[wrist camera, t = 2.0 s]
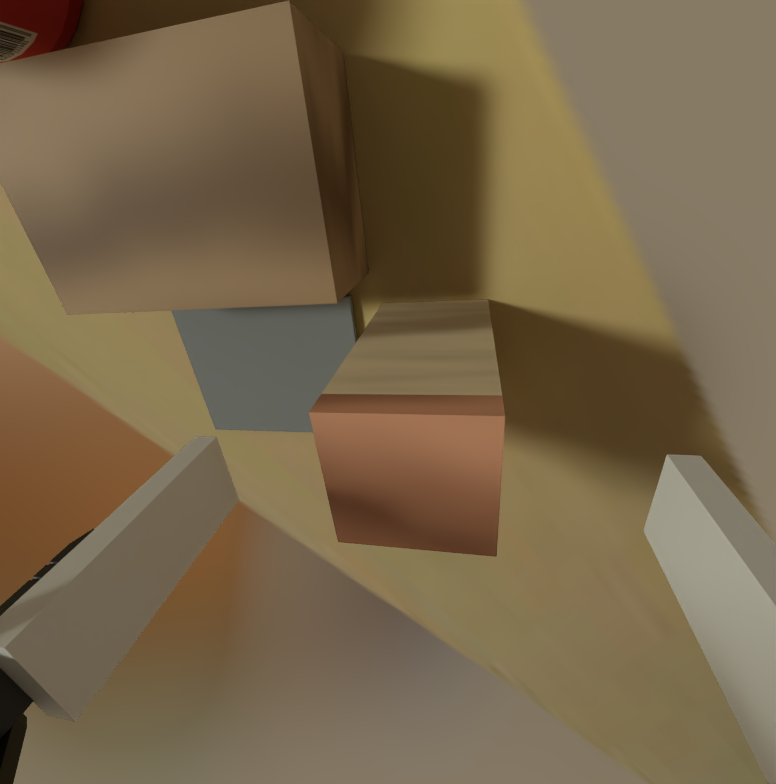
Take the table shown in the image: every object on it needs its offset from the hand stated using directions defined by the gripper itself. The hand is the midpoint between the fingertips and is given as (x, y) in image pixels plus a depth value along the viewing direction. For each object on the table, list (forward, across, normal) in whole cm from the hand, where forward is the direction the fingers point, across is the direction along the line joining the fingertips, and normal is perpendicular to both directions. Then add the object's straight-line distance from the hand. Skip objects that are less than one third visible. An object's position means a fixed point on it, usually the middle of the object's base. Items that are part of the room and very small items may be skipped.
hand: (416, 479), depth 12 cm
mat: (+9, -9, 0) cm, 13 cm away
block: (+9, 0, 0) cm, 9 cm away
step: (+9, -9, +8) cm, 15 cm away
